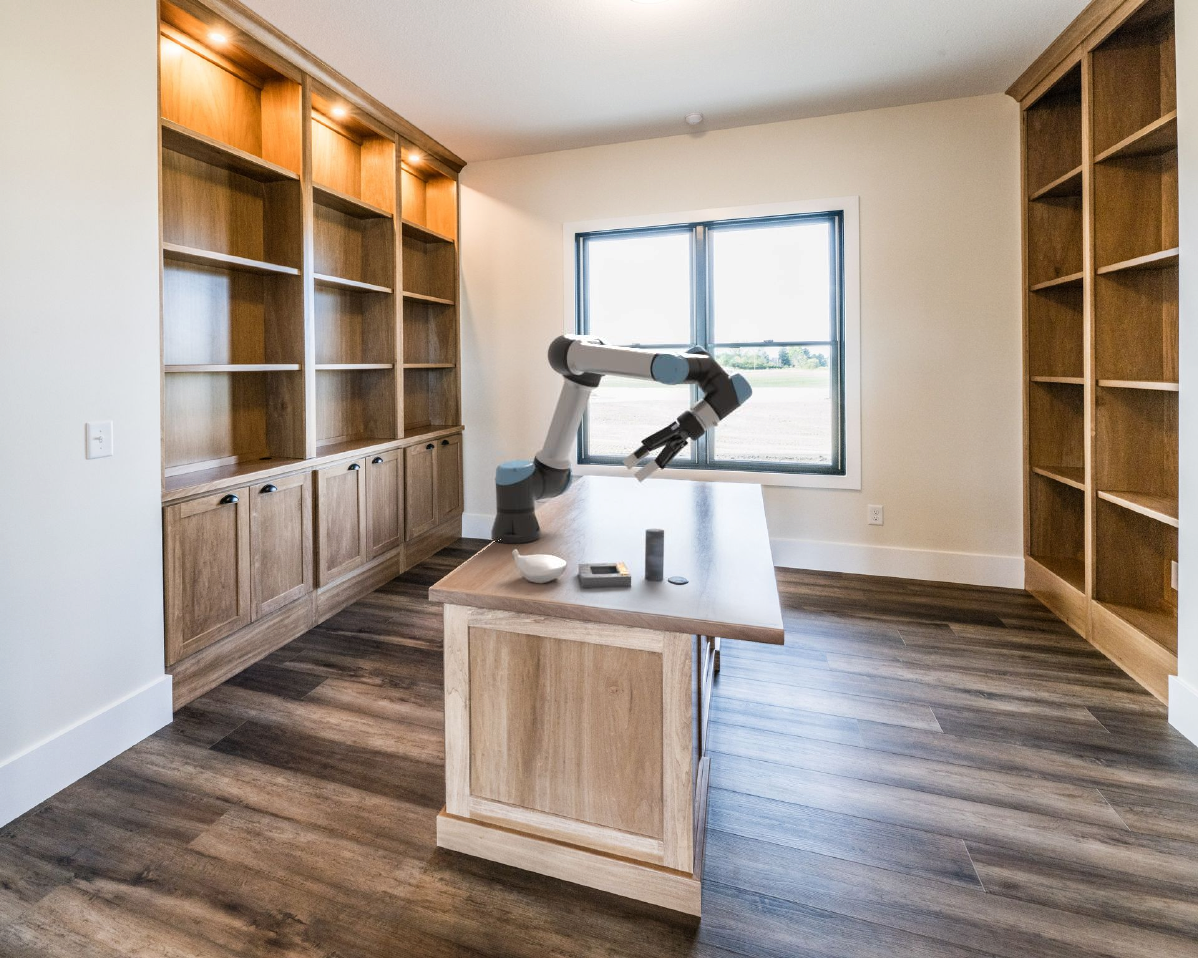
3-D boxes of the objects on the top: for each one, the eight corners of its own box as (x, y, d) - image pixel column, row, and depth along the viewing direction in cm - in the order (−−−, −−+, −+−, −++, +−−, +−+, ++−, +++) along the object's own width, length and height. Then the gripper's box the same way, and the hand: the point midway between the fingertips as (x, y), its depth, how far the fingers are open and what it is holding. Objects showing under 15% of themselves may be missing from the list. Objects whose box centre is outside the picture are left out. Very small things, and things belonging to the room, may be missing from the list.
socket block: (582, 588, 151) (582, 577, 151) (578, 573, 163) (578, 563, 162) (631, 586, 153) (631, 575, 152) (623, 572, 164) (623, 561, 164)
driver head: (522, 540, 164) (555, 529, 156) (543, 575, 166) (577, 565, 158) (498, 562, 156) (531, 551, 148) (520, 598, 158) (554, 589, 150)
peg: (641, 577, 160) (641, 530, 158) (654, 574, 162) (655, 527, 161) (653, 582, 156) (654, 533, 154) (667, 578, 159) (668, 531, 157)
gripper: (700, 415, 151) (629, 471, 152) (711, 445, 174) (649, 493, 176) (681, 392, 154) (611, 448, 155) (694, 425, 177) (633, 473, 178)
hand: (631, 472), depth 165 cm, fingers open, 13 cm apart
